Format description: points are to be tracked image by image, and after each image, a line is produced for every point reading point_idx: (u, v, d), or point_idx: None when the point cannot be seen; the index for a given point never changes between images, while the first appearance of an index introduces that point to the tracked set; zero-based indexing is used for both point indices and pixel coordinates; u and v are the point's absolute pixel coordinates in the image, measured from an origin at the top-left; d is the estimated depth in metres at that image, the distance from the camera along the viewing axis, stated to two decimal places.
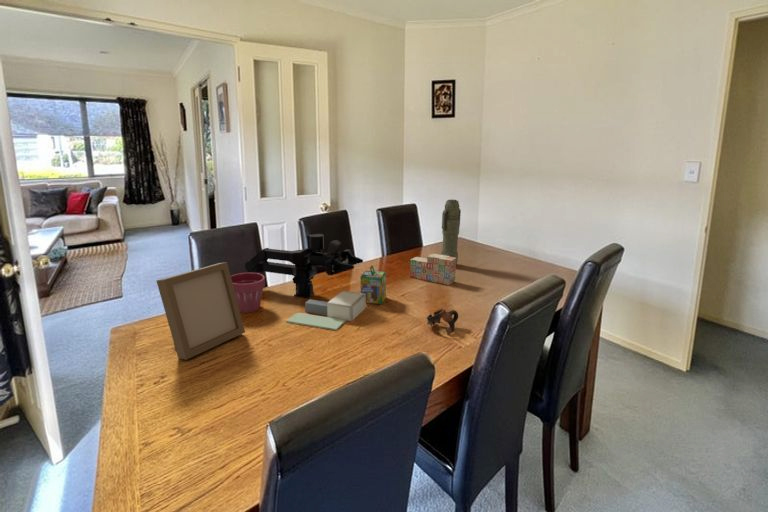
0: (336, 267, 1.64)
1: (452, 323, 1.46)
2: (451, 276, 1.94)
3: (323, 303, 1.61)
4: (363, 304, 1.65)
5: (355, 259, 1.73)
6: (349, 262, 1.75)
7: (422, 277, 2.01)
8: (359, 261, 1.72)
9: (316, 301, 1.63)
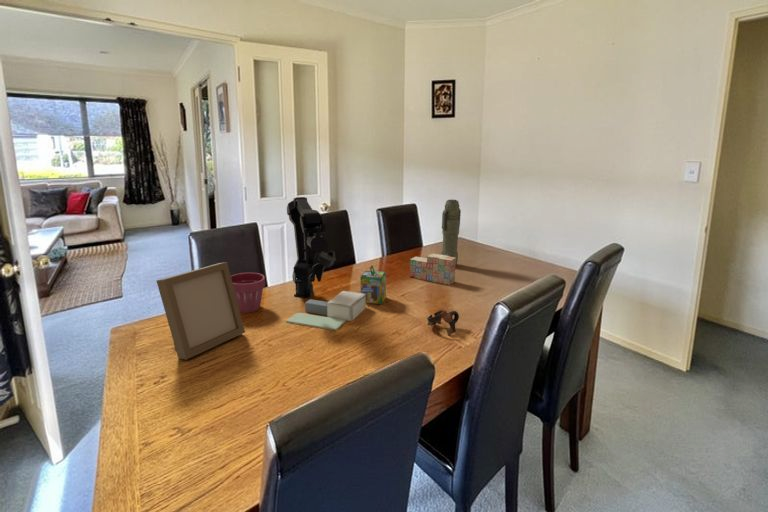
0: None
1: (453, 324, 1.45)
2: (451, 276, 1.94)
3: (323, 303, 1.61)
4: (363, 304, 1.65)
5: (320, 273, 1.64)
6: (316, 265, 1.64)
7: (422, 277, 2.01)
8: (318, 278, 1.64)
9: (317, 301, 1.63)
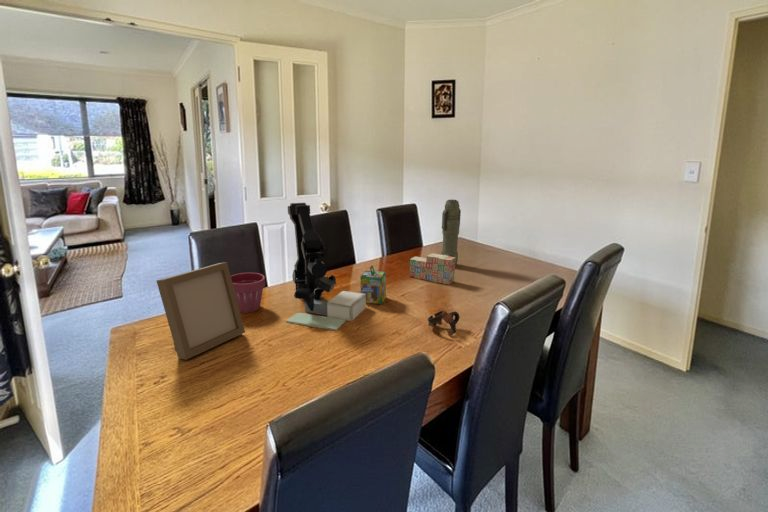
0: None
1: (453, 324, 1.45)
2: (450, 276, 1.95)
3: (323, 302, 1.61)
4: (363, 304, 1.65)
5: (317, 298, 1.64)
6: None
7: (421, 277, 2.02)
8: None
9: (317, 301, 1.63)
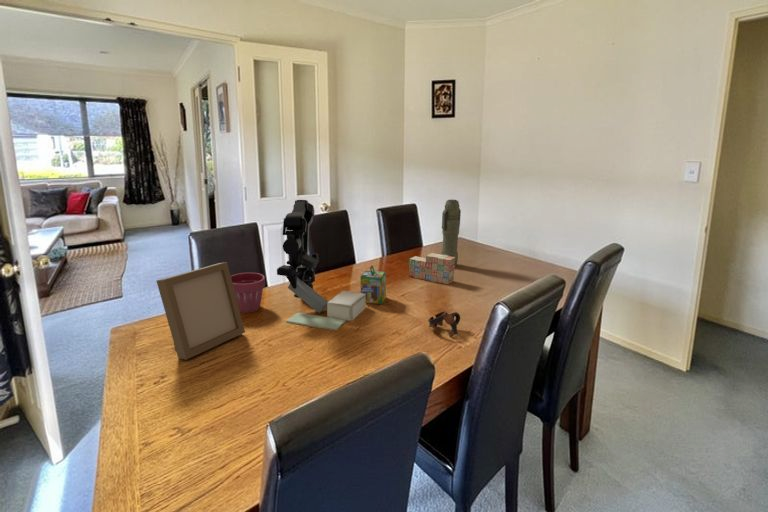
0: None
1: (454, 325, 1.44)
2: (450, 275, 1.95)
3: (308, 289, 1.62)
4: (363, 304, 1.65)
5: (301, 277, 1.64)
6: (297, 269, 1.64)
7: (421, 276, 2.02)
8: None
9: (303, 284, 1.63)
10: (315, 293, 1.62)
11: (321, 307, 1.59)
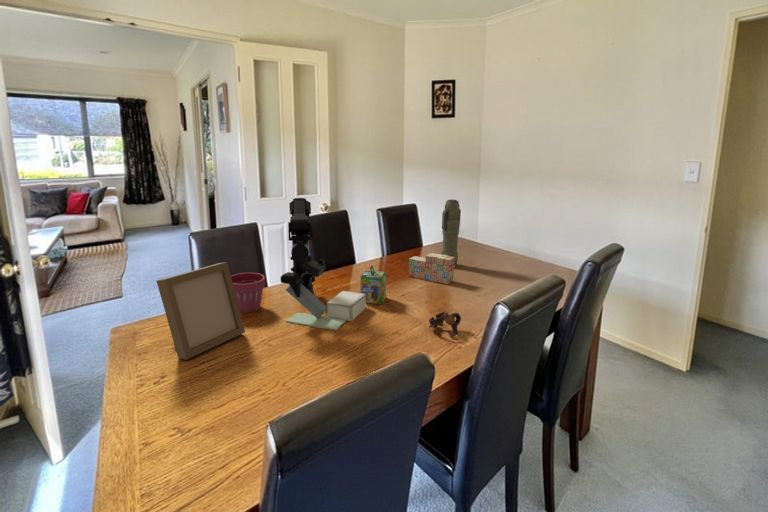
0: None
1: (455, 326, 1.44)
2: (449, 275, 1.95)
3: (308, 293, 1.53)
4: (363, 304, 1.65)
5: (307, 284, 1.55)
6: (302, 275, 1.55)
7: (420, 276, 2.02)
8: None
9: (302, 287, 1.53)
10: (314, 297, 1.54)
11: (321, 313, 1.54)
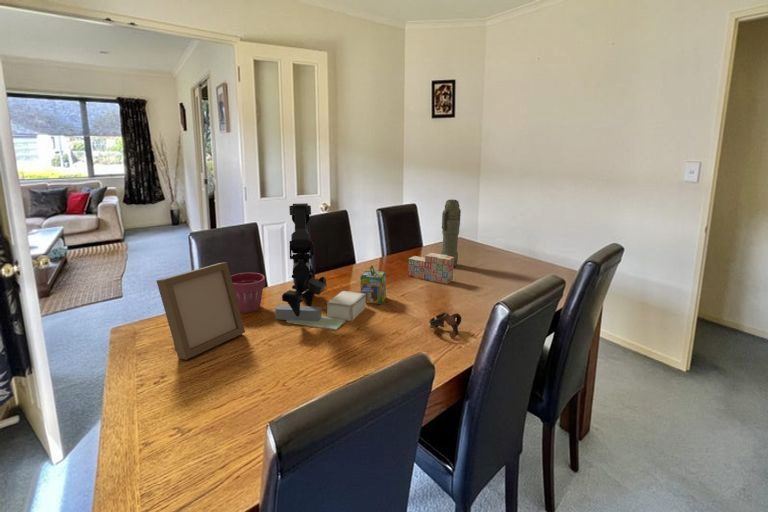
0: None
1: (456, 326, 1.43)
2: (449, 275, 1.95)
3: None
4: (363, 304, 1.65)
5: (310, 299, 1.57)
6: (305, 291, 1.57)
7: (420, 276, 2.02)
8: (308, 304, 1.58)
9: (288, 306, 1.55)
10: (304, 307, 1.55)
11: (317, 314, 1.52)
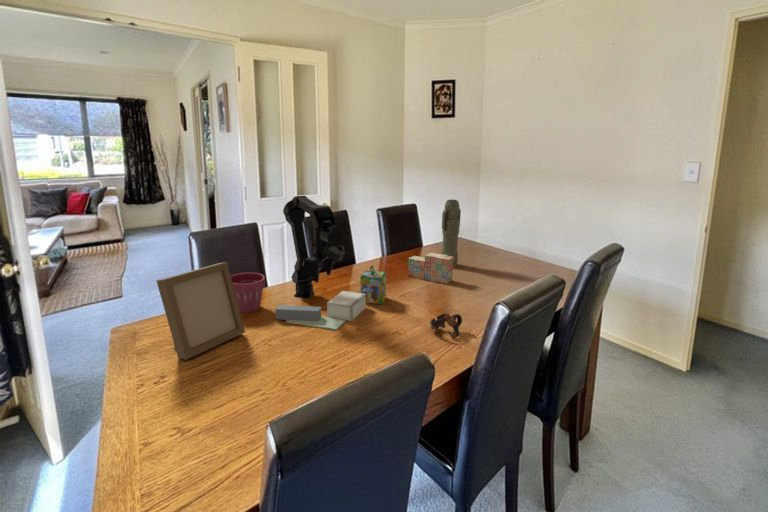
0: None
1: (456, 327, 1.43)
2: (448, 275, 1.96)
3: (296, 307, 1.54)
4: (363, 304, 1.65)
5: (329, 267, 1.66)
6: (325, 259, 1.66)
7: (420, 276, 2.03)
8: (327, 272, 1.66)
9: (288, 306, 1.55)
10: (304, 307, 1.55)
11: (317, 314, 1.52)
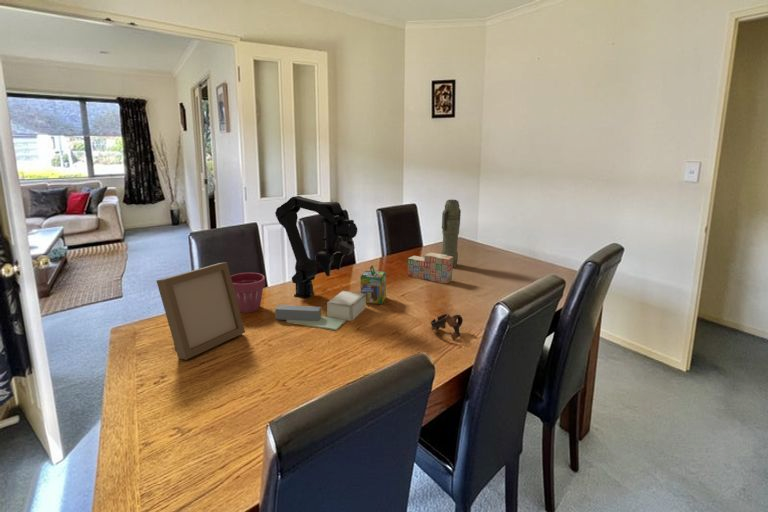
0: None
1: (457, 328, 1.42)
2: (448, 275, 1.96)
3: (296, 307, 1.54)
4: (363, 304, 1.65)
5: (338, 262, 1.71)
6: (335, 254, 1.71)
7: (419, 276, 2.03)
8: (337, 266, 1.72)
9: (288, 306, 1.55)
10: (304, 307, 1.55)
11: (317, 314, 1.52)
